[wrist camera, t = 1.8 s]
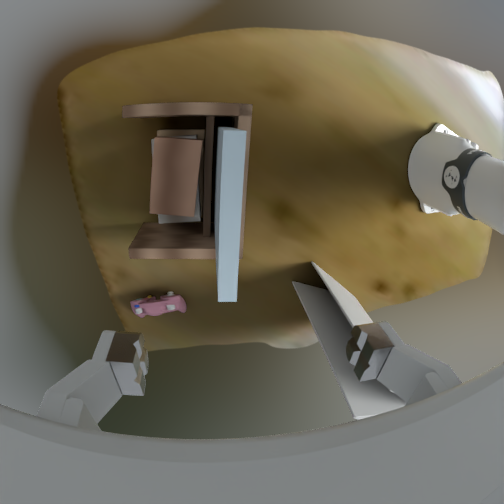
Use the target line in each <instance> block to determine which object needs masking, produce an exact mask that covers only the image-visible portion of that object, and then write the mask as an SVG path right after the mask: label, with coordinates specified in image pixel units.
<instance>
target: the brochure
mask: <svg viewBox="0 0 504 504" xmlns="http://www.w3.org/2000/svg"><path fill="white" fill-rule="evenodd" d="M311 263H312V265H313V266H314V268H315V269H316V271H317V272H318V274H319V275H320V277H321V278H322V280H323V282H324V283H325V285H326V286H327V288H328V289H329V290H326V289H322V288H318V287H314V286H310V285H306V284H302V283H299V282H295V281H292V284H293V286H294V288H295V290H296V292H297V295H298V297H299V299H300V301H301V303H302V305H303V307H304V309H305V312H306V314H307V316H308V318H309V320H310V322H311V325H312V327H313V329H314V331H315V333H316V335H317V338H318V340H319V342H320V344H321V346H322V349H323V351H324V353H325V355H326V357H327V360H328V362H329V364H330V366H331V368H332V371H333V373H334V375H335V377H336V379H337V382H338V384H339V386H340V389H341V391H342V393H343V395H344V398H345V400H346V402H347V404H348V406H349V409H350V412H351V414H352V416H353V418H356V419H359V420H360V419H364V418H367V417H371V416H375V415H378V414H381V413H385V412H388V411H391V410H395V409H398V408H401V407H404V406H405V405H406V403H407V402H406V401H404V400H403V399H402V398H400V397H399V396H398V395H396V394H395V393H394V392H393V391H391V390H390V389H389V388H387V387H386V386H385V385H383V384H382V383H381V382H379V381H378V380H377V378H376V379H371V380H366V381H361V382H359V380H358V378H357V376H356V374H355V372H354V367H355V366H354V365H353V364H351V363H349V361H348V359H347V355H346V346H347V343H348V341H349V340H350V339H351V338H352V337H353V336H352V334H351V331H352V328H353V327H354V326H355V325H361V324H369V323H373V322H372V320H371V319H370V317H369V316H368V315H367V313H366V312H365V310H364V309H363V308H362V306H361V305H360V303H359V302H358V301H357V299H356V298H355V297H354V296H353V295H352V294H351V293H350V292H348V291H347V290H346V289H345V288H344V287H343V286H341V285H340V284H339V283H338V282H337V281H335V280H334V279H333V278H332V277H331V276H329V275H328V274H327V273H326V272H325V271H323V270H322V269H321V268H320V267H318V266H317V265H316V264H315V263H314V262H311Z"/></svg>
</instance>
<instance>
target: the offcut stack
mask: <svg viewBox="0 0 504 504" xmlns="http://www.w3.org/2000/svg"><path fill="white" fill-rule="evenodd" d="M151 143H152V158H153V161H152V175H151V192H150V214H158V220H159V224H164V223H177V222H192V221H201V216H202V215H203V174H204V143H205V129H172V130H157V137H155V138H154V139H151Z"/></svg>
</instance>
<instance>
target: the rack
mask: <svg viewBox="0 0 504 504" xmlns="http://www.w3.org/2000/svg"><path fill="white" fill-rule="evenodd" d="M252 105H253V104H238V103H212V102H179V103H153V104H138V105H126V106H123V111H122V118H155V117H207V119H206V139H205V164H204V206H203V223H164V224H159V223H143V225H142V226H141V228H140V230H139V231H138V233H137V235H136V236H135V238H134V240H133V241H132V243H131V245H130V247H129V248H128V249H129V257H130V259H216V250H215V224H214V223H210V218H211V179H212V153H213V133H214V117H233V125H232V128H236V129H240V130H244V131H247V133H246V148H245V163H244V179H243V195H242V212H241V229H240V247H239V259H242V256H243V240H244V224H245V208H246V192H247V177H248V162H249V147H250V133H251V119H252Z"/></svg>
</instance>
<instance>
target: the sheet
mask: <svg viewBox="0 0 504 504" xmlns="http://www.w3.org/2000/svg"><path fill="white" fill-rule="evenodd" d="M246 133H247V131H244V130H240V129H236V128H231V127H220V126H218V130H217V149H216V172H215V202H214V224H215V250H216V272H217V291H218V302H237V285H238V265H239V247H240V229H241V212H242V195H243V179H244V163H245V148H246Z"/></svg>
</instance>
